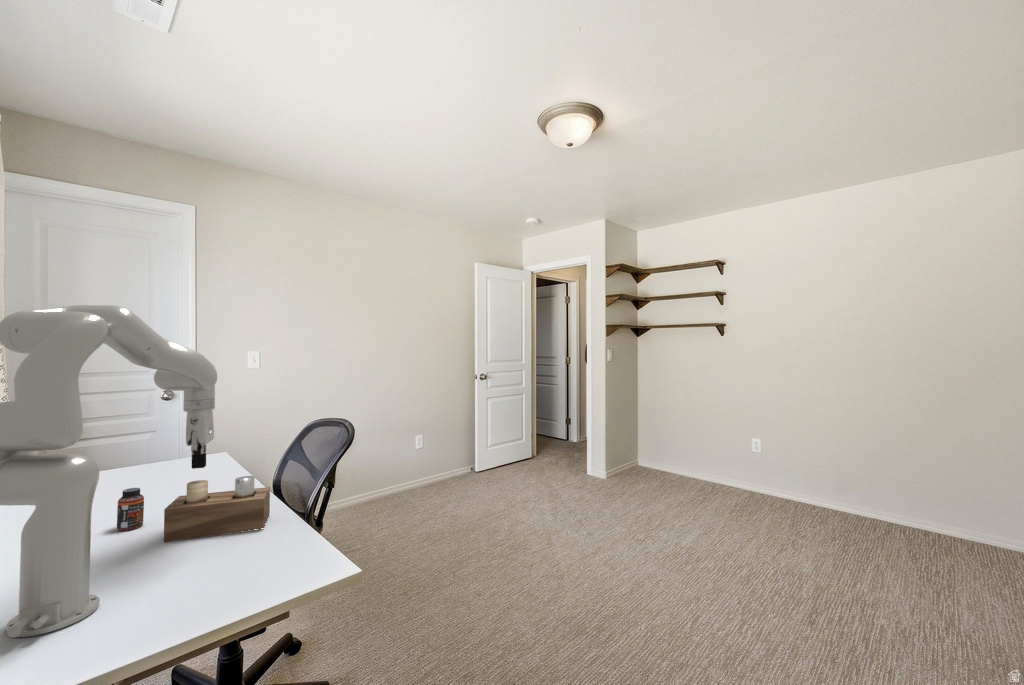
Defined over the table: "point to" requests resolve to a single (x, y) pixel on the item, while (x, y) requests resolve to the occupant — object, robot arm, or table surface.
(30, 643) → the table surface
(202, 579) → the table surface
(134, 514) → the supplement bottle
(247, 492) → the gray peg
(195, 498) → the peg left
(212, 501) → the walnut block
